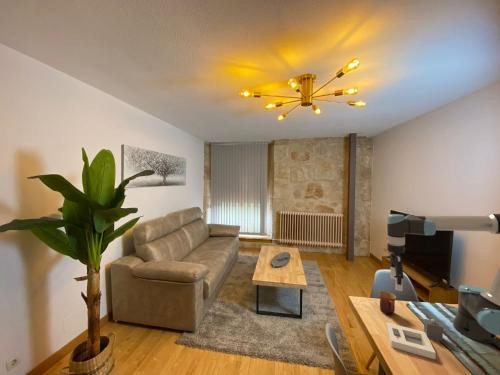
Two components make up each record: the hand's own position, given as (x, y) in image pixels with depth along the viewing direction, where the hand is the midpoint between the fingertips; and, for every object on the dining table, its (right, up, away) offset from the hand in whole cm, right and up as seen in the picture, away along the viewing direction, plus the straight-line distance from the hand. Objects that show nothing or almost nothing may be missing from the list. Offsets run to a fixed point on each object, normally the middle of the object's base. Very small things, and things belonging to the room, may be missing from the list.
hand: (396, 284), depth 110 cm
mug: (+4, -23, +12) cm, 26 cm away
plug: (+14, -23, -6) cm, 28 cm away
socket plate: (-1, -23, -10) cm, 25 cm away
